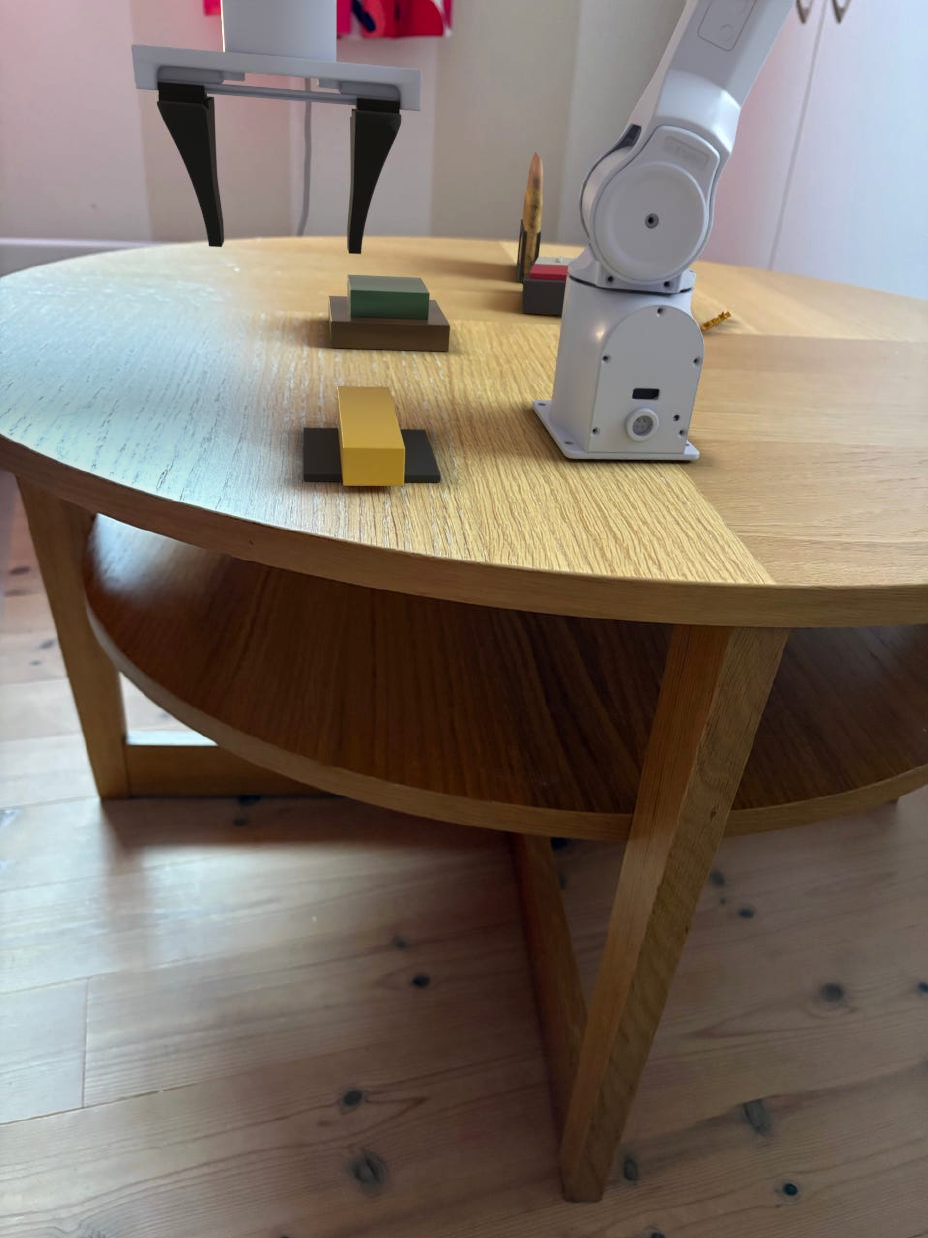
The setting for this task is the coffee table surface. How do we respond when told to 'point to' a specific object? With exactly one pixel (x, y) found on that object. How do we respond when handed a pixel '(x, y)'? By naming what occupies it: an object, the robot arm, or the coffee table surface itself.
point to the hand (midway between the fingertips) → (286, 247)
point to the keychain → (715, 320)
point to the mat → (326, 457)
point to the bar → (369, 437)
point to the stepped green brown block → (387, 316)
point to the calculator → (545, 286)
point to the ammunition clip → (531, 219)
